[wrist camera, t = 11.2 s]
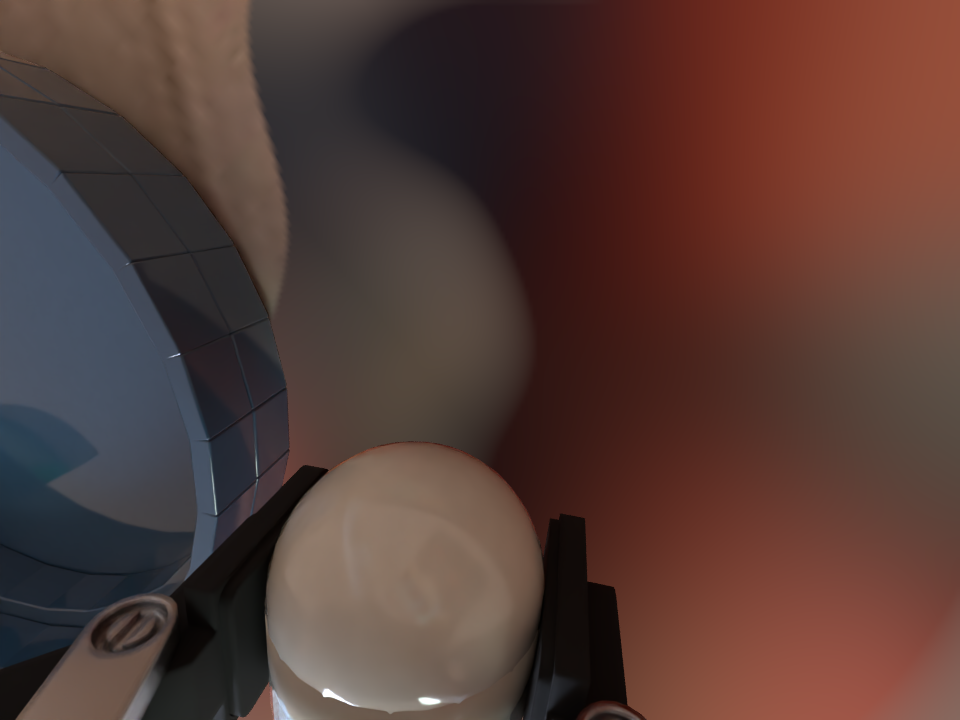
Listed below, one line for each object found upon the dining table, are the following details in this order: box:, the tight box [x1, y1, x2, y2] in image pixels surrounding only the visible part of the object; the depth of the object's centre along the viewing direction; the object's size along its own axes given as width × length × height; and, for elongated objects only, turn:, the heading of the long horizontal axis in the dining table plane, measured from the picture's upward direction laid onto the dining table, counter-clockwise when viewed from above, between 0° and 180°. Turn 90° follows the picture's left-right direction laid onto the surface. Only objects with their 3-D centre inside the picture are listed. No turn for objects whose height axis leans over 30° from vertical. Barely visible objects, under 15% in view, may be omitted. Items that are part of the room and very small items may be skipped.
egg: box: [265, 441, 546, 720], centre depth 10 cm, size 7×5×5 cm
